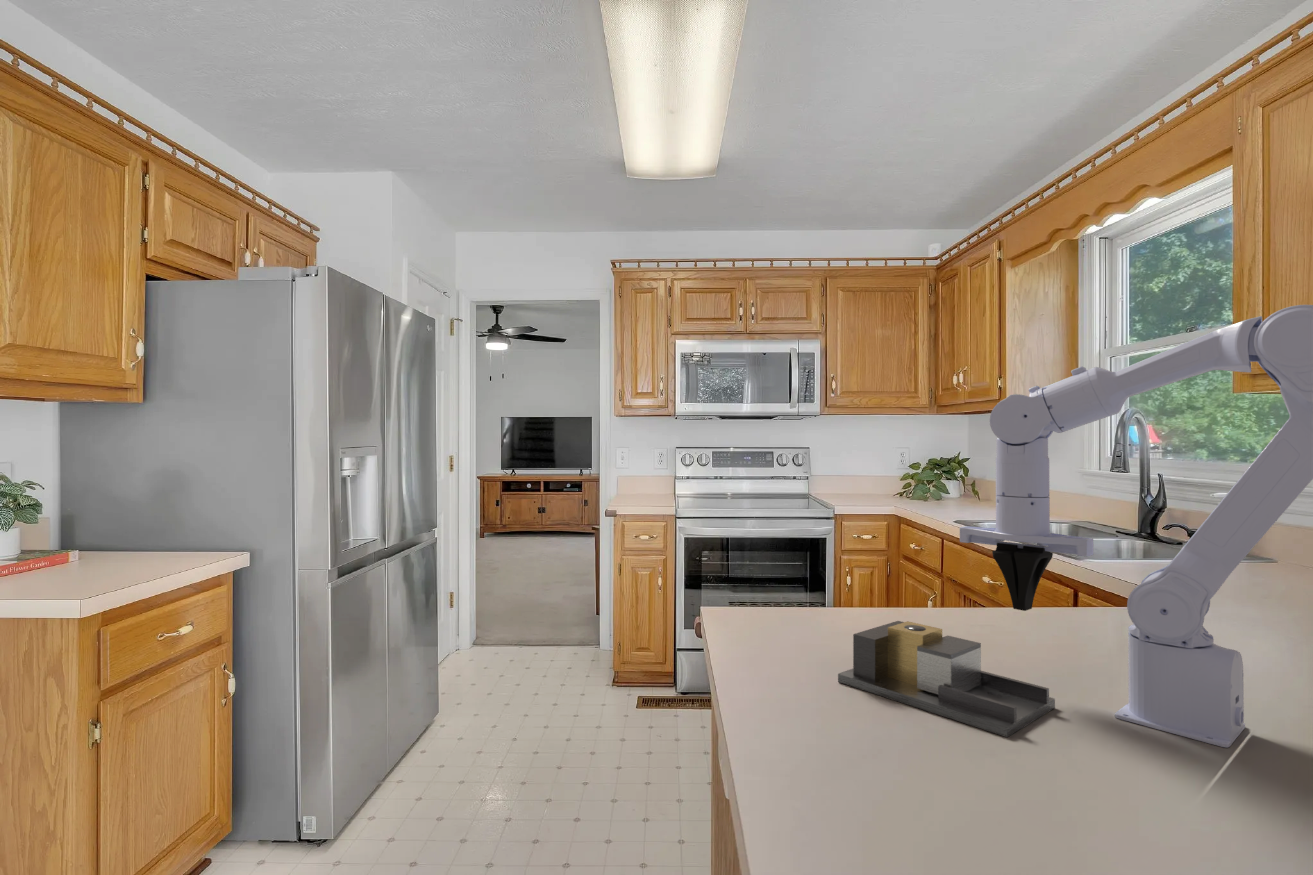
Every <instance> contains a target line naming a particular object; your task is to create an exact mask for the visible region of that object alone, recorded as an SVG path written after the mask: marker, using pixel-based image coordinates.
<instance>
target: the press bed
mask: <svg viewBox="0 0 1313 875" xmlns="http://www.w3.org/2000/svg"><path fill="white" fill-rule="evenodd" d="M904 622H905V621H901V620H897V621H896V620H895V621H892V622H889V623H887V624H882V625H879V626H876V627H873V628H870V629H866V630H863V631H859V632H856V633H853V636H852V638H853V642H852V643H853V645H852V646H853V648H852V649H853V650H852V652H853V653H852V658H853V659H852V660H853V666H852V667H853V668H850V669H847V670H845V671H842V672H839V673H838V674H837V682H838V683H841V684H843V685H847V686H850V687H852V688H854V689H859V690H861V691H862V690H863V691H865V692H868V693H871V694H873V695H874V694H875V695H876V696H879V697H883V698H886V699H889V700H892V701H895V702H899V703H901V704H904V705H908V706H910V707H914V708H917V709H920V710H923V711H926V712H929V713H932V714H935V715H938V716H941V717H944V718H947V719H950V720H954V721H956V722H959V723H963V724H966V725H968V726H972V727H974V728H978V729H981V730H983V731H987V732H990V733H993V734H995V735H996V734H997V735H1000V736H1002V737H1005V738H1008V737H1010V736H1011V735H1014V734H1015V733H1017V732H1018V731H1020V730H1022V729H1023V728H1025V727H1026V726H1028V725H1030V724H1031V723H1033V722H1034V721H1036V720H1037V719H1039V718H1041V717H1043V716H1044V715H1046V714H1047V713H1049V712H1051V711H1052V710H1054V709H1055V708H1056V698H1054V697H1050V688H1049V687H1045V686H1041V685H1038V684H1035V683H1034V684H1033V683H1030V682H1026V681H1023V680H1018V679H1015V678H1011V677H1007V676H1003V675H999V674H995V673H991V672H988V671H984V670H981V684H980V685H978V686H976V687H974V688H972V689H970V690H968V691H966V692H964V691H961V690H957V689H954V688H950V687H947V686H944V685H939V686H938V694H935V693H931V692H928V691H925V690H921V689H918V688H917V686H916V685H913V684H909V683H906V682H903V681H899V680H896V679H893V678H889V677H888V627H891V626H894V625H897V624H901V623H904Z"/></svg>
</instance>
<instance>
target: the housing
mask: <svg viewBox="0 0 1313 875" xmlns="http://www.w3.org/2000/svg"><path fill="white" fill-rule="evenodd" d="M903 622H904V623H901V624H897V625H894V626H891V627H888V677H889V678H893V679H896V680H899V681H903V682H906V683H909V684H913V685H916V686H917V646H919V645H922V644H925V643H928V642H931V641H933V640H936V639H939V638H942V637H943V628H939V627H935V626H932V625H926V624H921V623H916V622H913V621H903Z"/></svg>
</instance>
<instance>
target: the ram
mask: <svg viewBox="0 0 1313 875" xmlns="http://www.w3.org/2000/svg"><path fill="white" fill-rule="evenodd" d="M981 644H982V643H981V642H979V641H973V640H969V639H965V638H960V637H957V636H952V635H945V636H942V638H939V639H936V640H933V641H931V642H928V643H925V644H922V645H919V646H917V688H918V689H921V690H925V691H928V692H931V693H935V694H938V686H939V685H944V686H947V687H950V688H954V689H957V690H961V691H964V692H966V691H968V690H970V689H972V688H974V687H976V686H978V685H980V684H981V671H982V650H981V649H982V648H981V647H982V645H981Z"/></svg>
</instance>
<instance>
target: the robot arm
mask: <svg viewBox="0 0 1313 875" xmlns="http://www.w3.org/2000/svg"><path fill="white" fill-rule="evenodd" d="M1252 362H1253V363H1255V362H1257V364H1258V365H1259V366H1260V368H1261V369H1262V370H1263V371H1264V372H1265V373H1266V374H1267V375H1268V377H1269V378H1270V379H1272V380H1273V381H1274V383H1275V384H1276V385H1277V386H1278V388H1279V392H1280V394H1281V397H1282V399H1283V402H1284V405H1285V407H1286V409H1287V413H1288V415H1289V417H1288V419H1287V420H1286V421H1285V423H1284V424H1283V425H1282V426H1281V428H1280V429H1279V430H1278V431H1277V433H1275V435H1274V436H1273V437H1272V438H1271V439H1270V441H1269V442H1268V443H1267V445H1266V446H1265V447H1264V448H1263V450H1262V451H1260V453H1259V454H1258V455H1257V457H1256V458H1255V459H1254V460H1253V462H1252V463H1251V464H1250V465H1249V466H1248V468H1247V469H1245V471H1244V473H1243V474H1242V475H1241V476H1240V478H1238V480H1237V481H1236V482H1235V484H1234V485H1233V486H1232V487H1231V488H1230V489H1229V491H1228V492H1227V493H1226V494H1225V496H1224V497H1223V498H1222V499H1221V501H1220V502H1219V503H1218V504H1217V505H1216V507H1215V508H1214V509H1213V510H1212V512H1211V513H1209V515H1208V516H1207V517H1206V518H1205V520H1204V521H1203V522H1202V523H1201V525H1200V526H1199V527H1198V528H1197V530H1196V531H1195V532H1194V534H1193V535H1192V536H1191V537H1190V538H1189V539H1188V541H1186V543H1185V545H1183V547H1181V549H1180V550H1179V552H1178V553H1176V555H1175V556H1174V558H1172V560H1171V561H1170V562H1169V563H1168V564H1167V565H1166V566H1163V568H1160V569H1156V570H1154V571H1151V572H1150V573H1148V575H1146V576H1145V577H1144V578H1143V579H1142V581H1141V582H1140V584H1138V585H1137V586H1135V588H1133V590H1132V591H1131V592H1130V594H1129V596H1128V598H1127V601H1126V603H1127V604H1126V609H1127V614H1128V616H1129V619H1130V620H1131V622H1132V624H1131V625H1129V626H1128V627H1127V628H1128V629H1127V632H1128V635H1127V636H1128V638H1127V640H1128V641H1127V642H1128V643H1127V644H1128V647H1127V648H1128V650H1127V651H1128V652H1127V653H1128V657H1127V658H1128V660H1127V662H1128V664H1127V665H1128V668H1127V669H1128V703H1126V704H1125V705H1124V706H1123V707H1121V708H1120V709H1118V710H1117V711H1116V712H1114V717H1115V718H1117V719H1118V720H1121V721H1125V722H1129V723H1134V724H1137V725H1140V726H1145V727H1147V728H1151V729H1155V730H1158V731H1162V732H1166V733H1170V734H1174V735H1177V736H1181V737H1184V738H1189V739H1191V740H1195V741H1199V742H1203V743H1206V744H1210V745H1213V746H1216V747H1217V746H1218V747H1221V748H1229V747H1231V746H1232V744H1233V743H1234V742H1235V740H1236V739H1237V738H1238V737H1239V736H1240V735H1241V733H1242V732H1243V731H1244V730H1245V729H1246V723H1245V720H1244V719H1245V712H1244V711H1245V710H1244V708H1245V706H1244V704H1245V703H1244V699H1245V697H1244V691H1245V690H1244V685H1245V684H1244V662H1243V656H1242V653H1241V652H1240V651H1238V650H1235V649H1231V648H1226V647H1222V646H1221V645H1218V644H1216V643H1214V640H1215V639H1214V636H1213V635H1212V634H1210V633H1209V631H1207V629H1206V628H1205V626H1203V625H1204V621H1205V617H1206V615H1207V614H1208V612H1209V610H1210V606H1211V600H1212V598H1213V597H1214V596H1215V595H1216V594H1217V592H1218V591H1219V590H1220V588H1221V587H1222V586H1223V584H1224V583H1225V582H1226V580H1227V579H1228V578H1229V577H1230V576H1231V574H1232V573H1233V571H1234V570H1235V569H1236V568H1237V567H1238V566H1239V565H1240V563H1241V562H1242V561H1243V560H1244V559H1245V558H1246V557H1247V555H1248V554H1249V553H1250V552H1251V551H1252V549H1253V548H1254V547H1255V546H1256V545H1257V544H1258V543H1259V542H1260V540H1261V539H1262V538H1263V537H1264V536H1265V535H1266V533H1268V532H1269V530H1271V528H1272V526H1274V524H1275V523H1276V522H1277V521H1278V520H1279V518H1281V516H1282V515H1283V514H1284V513H1285V512H1286V511H1287V509H1288V508H1289V507H1290V506H1291V505H1292V504H1293V503H1294V501H1295V500H1296V499H1297V498H1298V497H1299V496H1300V495H1301V493H1302V492H1303V491H1304V490H1305V488H1307V486H1308V485H1309V484H1310V483H1311V482H1312V480H1313V304H1297V305H1291V306H1287V307H1284V308H1282V309H1279V310H1277V311H1275V312H1273V313H1271V314H1270V315H1268V316H1267V317H1266V318H1265V319H1264V320H1263V316H1262V315H1260V316H1257V317H1256V316H1255V317H1252V318H1248V319H1245V320H1242V321H1239V322H1236V323H1234V324H1229V325H1227V326H1223V327H1221V328H1219V329H1215V330H1213V331H1211V332H1207V333H1206V334H1203V335H1201V336H1198V337H1195V338H1194V339H1191V340H1189V341H1186V342H1183V343H1181V344H1179V345H1177V346H1175V347H1172V348H1169V349H1167V350H1164V351H1161V352H1160V353H1156V354H1154V355H1152V356H1150V357H1147V358H1145V359H1143V360H1141V361H1137V362H1135V363H1133V364H1131V365H1129V366H1126V367H1123V368H1121V369H1118V370H1115V371H1113V370H1111V371H1110V370H1108V369H1105V368H1103V367H1099V366H1095V367H1092V368H1088V369H1087V368H1086V367H1084V366H1079V367H1076V368H1074V369H1071V371H1070V373H1071V376H1069V377H1066V378H1064V379H1061V380H1059V381H1056V382H1054V383H1051V384H1049V385H1045V386H1043V387H1041V386H1038V385H1035V386H1032V387H1030V388H1028V392H1029V396H1028V395H1024V394H1018V393H1015V394H1009V395H1008V396H1007V397H1006V398H1004V399H1002V400H1000V401H999V402H997V404H996V405H995V406H994V407H993V409H992V410H991V413H990V415H989V425H990V428H991V431H992V433H993V434H994V435H995V437H997V438H996V440H995V441H996V455H995V456H996V457H995V527H983V526H981V527H980V526H969V525H965V526H960V527H959V542H960V543H965V544H969V543H972V544H981V545H982V544H983V545H990V546H996V548H995V550H992V553H991V554H992V558H993V559H994V561H995V562H996V564H997V566H998V567H999V570H1000V571H1001V573H1002V575H1003V578H1004V581H1005V583H1006V587H1007V588H1008V592H1009V595H1010V599H1011V604H1012V610H1013V609H1014V610H1018V611H1024V612H1025V611H1029V610H1032V609H1033V604H1034V600H1035V599H1034V598H1035V595H1036V592H1037V588H1038V586H1039V583H1040V580H1041V579H1042V576H1043V574H1044V572H1045V570H1046V568H1047V567H1048V565H1049V563H1050V562H1051V560H1052V559H1053V556H1054V553H1058V554H1060V553H1061V554H1065V555H1066V554H1067V555H1076V556H1078V557H1085V558H1087V557H1091V556H1094V538H1093V537H1083V536H1075V535H1068V534H1061V533H1054V532H1051V530H1050V529H1051V523H1050V522H1051V520H1050V515H1051V514H1050V512H1051V510H1050V499H1051V498H1050V457H1049V438H1050V437H1051V436H1052V434H1053V432H1054V433H1057V434H1062V433H1066V432H1068V431H1070V430H1073V429H1077V428H1079V427H1082V426H1085V425H1089V424H1091V423H1093V422H1097V421H1099V420H1103V419H1106V418H1108V417H1111V416H1114V415H1117V414H1119V413H1120V412H1121V410H1122V408H1123V406H1124V405H1125V402H1126V401H1127V400H1128V399H1129V398H1130V397H1134V396H1136V395H1139V394H1140V395H1141V394H1143V393H1145V392H1149V391H1152V390H1154V389H1158V388H1162V387H1165V386H1167V385H1171V384H1174V383H1176V382H1181V381H1183V380H1185V379H1190V378H1193V377H1195V376H1196V377H1197V376H1199V375H1202V374H1205V373H1208V372H1211V371H1228V372H1238V373H1252ZM1027 543H1028V544H1027ZM1031 543H1033V544H1031Z"/></svg>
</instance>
